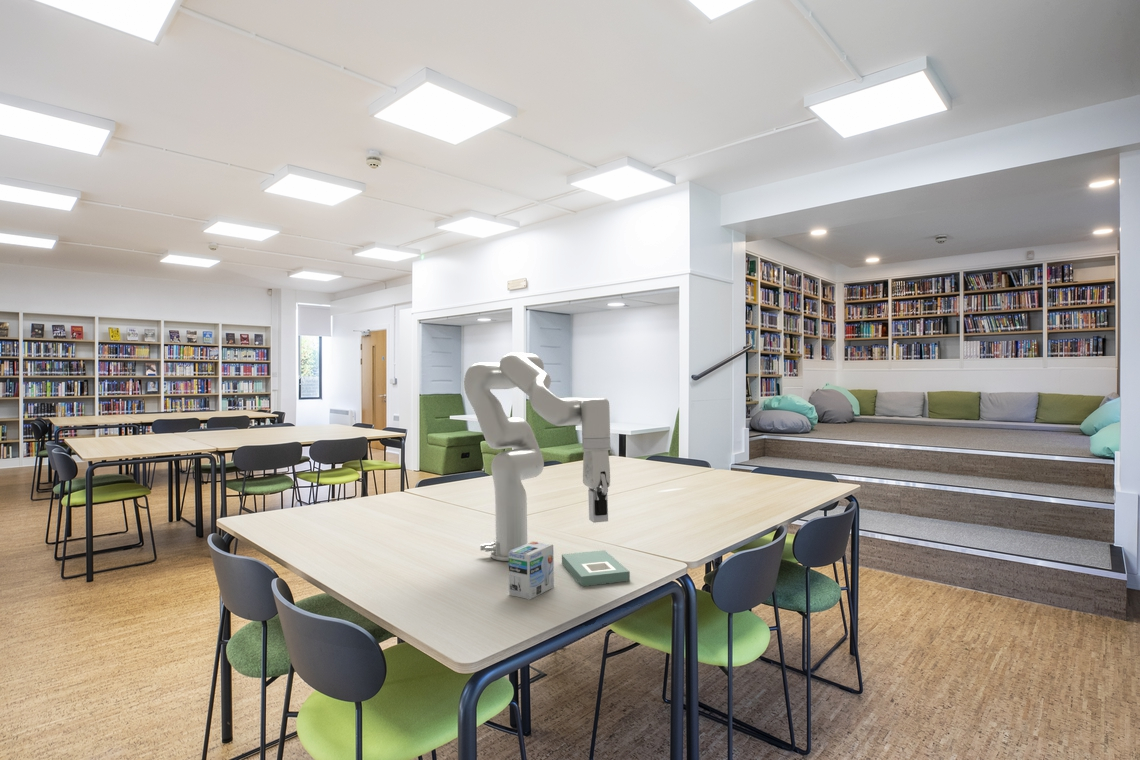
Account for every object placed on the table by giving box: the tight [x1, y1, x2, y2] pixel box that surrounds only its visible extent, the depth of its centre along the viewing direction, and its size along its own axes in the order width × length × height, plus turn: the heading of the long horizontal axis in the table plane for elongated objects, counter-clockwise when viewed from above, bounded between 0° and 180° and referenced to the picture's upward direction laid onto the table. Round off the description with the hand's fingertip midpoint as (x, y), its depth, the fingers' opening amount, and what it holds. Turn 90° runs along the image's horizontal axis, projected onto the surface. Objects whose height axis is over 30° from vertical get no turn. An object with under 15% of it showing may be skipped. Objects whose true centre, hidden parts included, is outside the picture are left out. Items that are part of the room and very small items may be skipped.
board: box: [561, 549, 631, 587], centre depth 153 cm, size 13×20×2 cm, turn 15°
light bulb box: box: [508, 540, 555, 601], centre depth 139 cm, size 11×7×11 cm, turn 148°
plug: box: [587, 488, 609, 524], centre depth 149 cm, size 4×4×8 cm
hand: (598, 512), depth 149 cm, fingers closed on plug, 4 cm apart
